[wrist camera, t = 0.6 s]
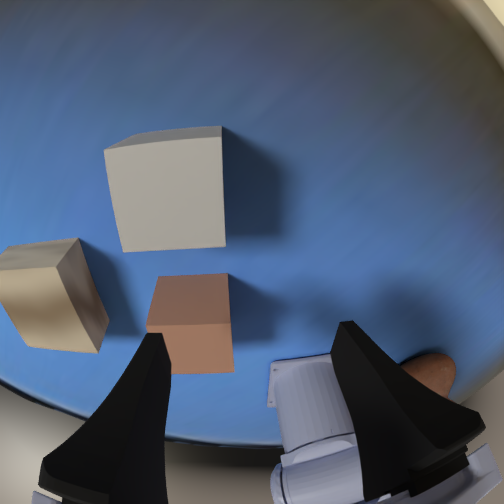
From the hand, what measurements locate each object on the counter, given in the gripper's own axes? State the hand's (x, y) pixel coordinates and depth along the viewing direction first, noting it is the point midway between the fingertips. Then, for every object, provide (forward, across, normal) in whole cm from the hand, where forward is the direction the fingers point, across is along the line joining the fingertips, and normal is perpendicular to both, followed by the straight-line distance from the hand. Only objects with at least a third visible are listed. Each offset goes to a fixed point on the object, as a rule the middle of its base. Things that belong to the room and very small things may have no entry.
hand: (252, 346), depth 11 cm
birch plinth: (+9, +15, +3) cm, 18 cm away
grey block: (+9, +3, -5) cm, 11 cm away
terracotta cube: (+9, +3, +5) cm, 11 cm away
